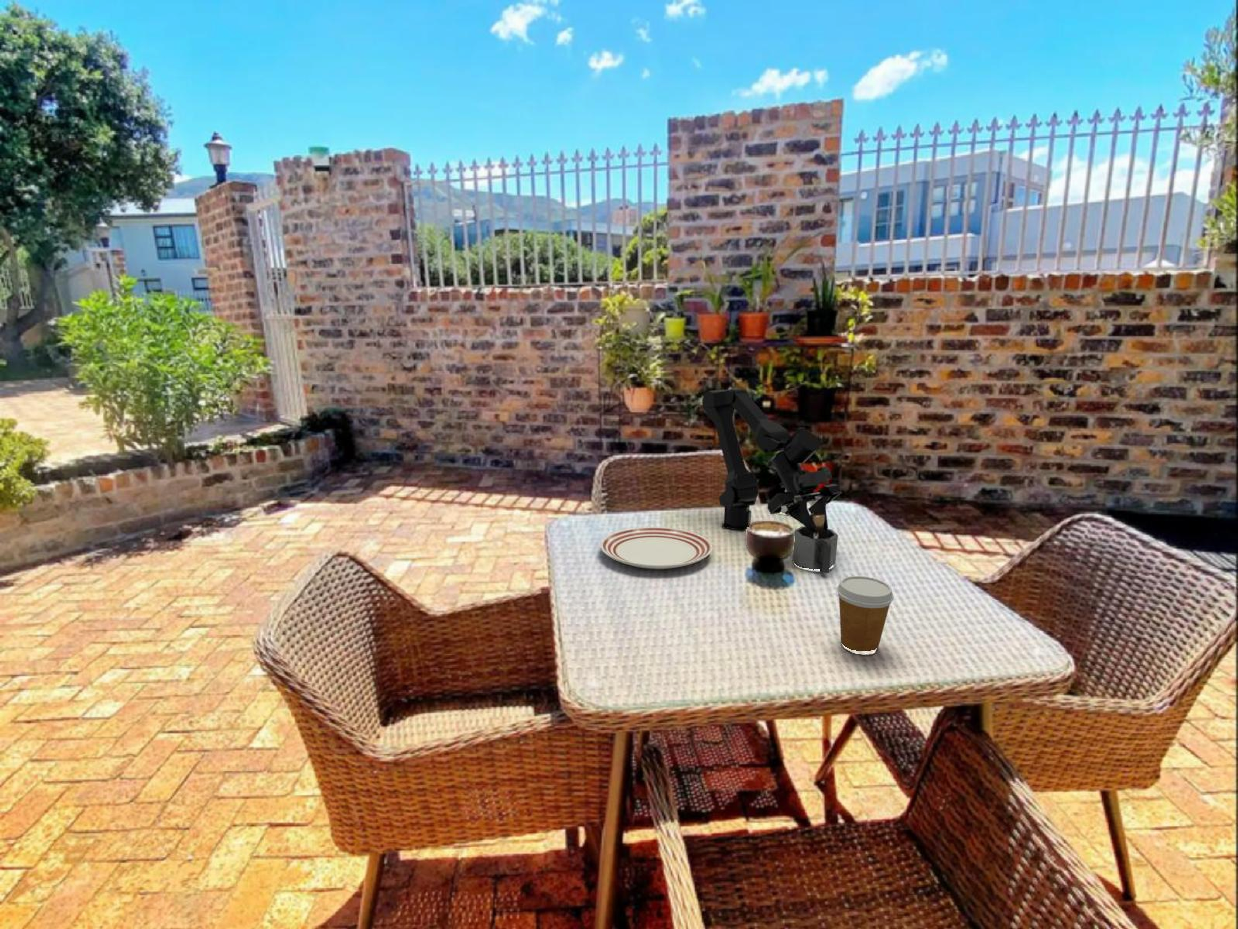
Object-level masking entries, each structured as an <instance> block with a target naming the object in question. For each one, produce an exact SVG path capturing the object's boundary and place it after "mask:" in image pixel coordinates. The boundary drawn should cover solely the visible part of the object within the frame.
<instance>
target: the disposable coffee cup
mask: <svg viewBox="0 0 1238 929" xmlns="http://www.w3.org/2000/svg"><path fill="white" fill-rule="evenodd" d="M836 592H837V595H838V600H839V601H838V603H839V606H838V607H839V624H840V631H839V632H840V644H841V643H842V644H843V645H844V646H845V647H847V648H849V649H851V650H856V651H871V650H875V649H876V648H878V649H879V646H880V643H881V640H882V635H883V632H884V628H885V623H886V620H887V617H888V613H889V609H890V606H891V604H892V602H893V601H894V598H895V595H894V594H893V590H892V586H890V585H889V584H888V583H887V582H885V581H883V580H881V579H878V578H874V577H870V576H865V575H852V576H845V577H843V578H842V579H840V582H839V584H838V585H837V586H836Z"/></svg>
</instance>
